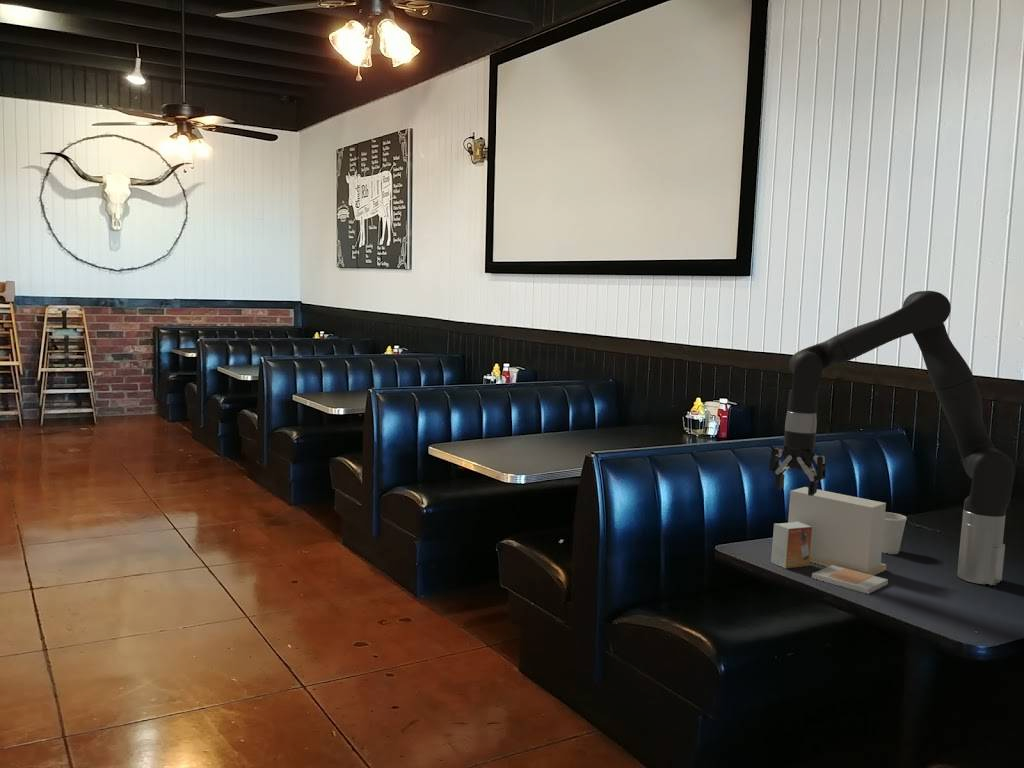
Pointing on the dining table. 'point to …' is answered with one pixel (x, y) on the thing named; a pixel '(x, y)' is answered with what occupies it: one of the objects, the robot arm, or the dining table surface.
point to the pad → (850, 579)
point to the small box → (791, 544)
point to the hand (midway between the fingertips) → (795, 492)
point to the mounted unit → (841, 529)
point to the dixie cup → (893, 532)
